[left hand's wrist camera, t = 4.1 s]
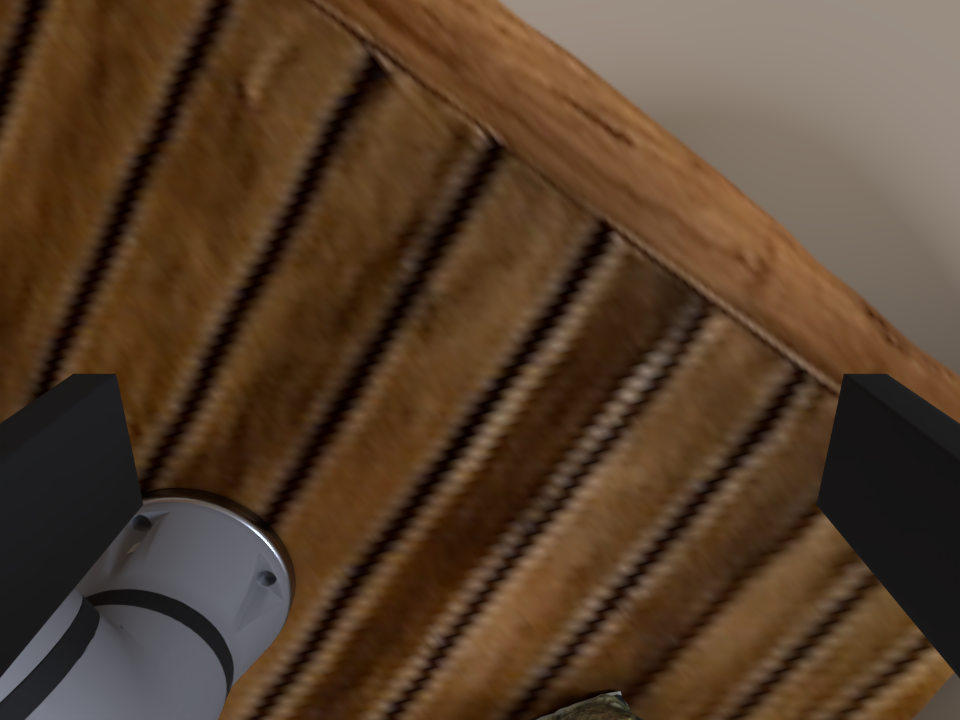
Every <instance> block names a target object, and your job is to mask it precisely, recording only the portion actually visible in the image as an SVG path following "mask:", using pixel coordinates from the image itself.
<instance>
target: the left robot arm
mask: <svg viewBox="0 0 960 720" xmlns="http://www.w3.org/2000/svg"><path fill="white" fill-rule="evenodd" d="M817 506H818V507H819V508H820V509H821V511H822V512H823V513H824V514H825V515H826V517H827V518H828V519H829V520H830V522H831V523H832V524H833V525H834V526H835V528H836V529H837V530H838V531H839V532H840V534H841V535H842V536H843V537H844V538H845V540H846V541H847V542H848V543H849V545H850V546H851V547H852V548H853V549H854V551H855V552H856V553H857V554H858V555H859V557H860V558H861V559H862V560H863V562H864V563H865V564H866V565H867V566H868V568H869V569H870V570H871V571H872V572H873V574H874V575H875V576H876V577H877V578H878V580H879V581H880V582H881V583H882V585H883V586H884V587H885V588H886V589H887V591H888V592H889V593H890V594H891V595H892V597H893V598H894V599H895V600H896V601H897V603H898V604H899V605H900V606H901V608H902V609H903V610H904V611H905V612H906V614H907V615H908V616H909V617H910V618H911V620H912V621H913V622H914V623H915V625H916V626H917V627H918V628H919V629H920V631H921V632H922V633H923V634H924V635H925V637H926V638H927V639H928V640H929V641H930V643H931V644H932V645H933V646H934V648H935V649H936V650H937V651H938V652H939V654H940V655H941V656H942V657H943V658H944V660H945V661H946V662H947V663H948V664H949V666H950V667H951V668H952V669H953V671H954V672H955V673H956V674H957V675H958V677H959V678H960V424H959V423H958V422H956V421H955V420H953V419H952V418H950V417H949V416H948V415H946V414H945V413H943V412H942V411H940V410H939V409H937V408H936V407H934V406H933V405H931V404H930V403H928V402H927V401H926V400H924V399H923V398H921V397H920V396H918V395H917V394H915V393H914V392H912V391H911V390H909V389H908V388H906V387H905V386H904V385H902V384H901V383H899V382H898V381H896V380H895V379H893V378H892V377H890V376H889V375H887V374H844V377H843V381H842V386H841V391H840V396H839V400H838V405H837V410H836V415H835V420H834V424H833V429H832V434H831V439H830V443H829V448H828V453H827V458H826V463H825V467H824V472H823V477H822V482H821V486H820V491H819V496H818V501H817ZM294 595H295V573H294V568H293V564H292V561H291V558H290V556H289V553H288V551H287V549H286V547H285V545H284V544H283V542H282V541H281V539H280V538H279V537H278V535H277V534H276V533H275V532H274V530H273V529H272V528H271V527H270V526H269V525H268V524H267V523H266V522H265V521H263V520H262V519H261V518H260V517H259V516H257V515H256V514H255V513H253V512H252V511H250V510H249V509H247V508H245V507H244V506H242V505H240V504H238V503H236V502H234V501H232V500H230V499H227V498H225V497H222V496H219V495H216V494H213V493H208V492H204V491H198V490H191V489H167V490H159V491H154V492H150V493H146V494H143V495H141V491H140V486H139V482H138V477H137V472H136V467H135V463H134V458H133V453H132V448H131V443H130V439H129V434H128V429H127V424H126V420H125V415H124V410H123V405H122V400H121V396H120V391H119V386H118V381H117V377H116V374H73V375H71V376H70V377H68V378H67V379H65V380H64V381H62V382H61V383H59V384H58V385H56V386H55V387H54V388H52V389H51V390H49V391H48V392H46V393H45V394H43V395H42V396H40V397H39V398H37V399H36V400H34V401H33V402H32V403H30V404H29V405H27V406H26V407H24V408H23V409H21V410H20V411H18V412H17V413H15V414H14V415H12V416H11V417H9V418H8V419H7V420H5V421H4V422H2V423H1V424H0V720H218V718H219V716H220V713H221V711H222V708H223V706H224V703H225V701H226V698H227V696H228V694H229V691H230V689H231V687H232V686H233V685H234V684H235V683H236V681H237V680H238V679H239V678H240V677H241V676H242V675H243V674H244V673H245V672H246V671H247V670H248V669H249V667H250V666H251V665H252V664H253V663H254V662H255V661H256V660H257V659H258V658H259V657H260V656H261V655H262V653H263V652H264V651H265V650H266V649H267V648H268V647H269V646H270V645H271V644H272V642H273V641H274V640H275V638H276V637H277V636H278V634H279V633H280V631H281V630H282V628H283V626H284V624H285V622H286V619H287V616H288V614H289V611H290V608H291V605H292V603H293V599H294Z"/></svg>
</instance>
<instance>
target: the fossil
mask: <svg viewBox="0 0 960 720" xmlns="http://www.w3.org/2000/svg"><path fill="white" fill-rule="evenodd" d="M536 720H643V719H641V718H639V717H637V716H636V715H634V714H632V713H631V711H630V707H629V706H628V704H627V703H626V702H625V701H624V700H623V698H622V695H621V692H613V693H606V694H601V695H599V696H597V697H594V698H591V699H588V700H584V701H581V702H578V703H575V704H573V705H570V706H568V707H565V708H562V709H559V710H558V711H556V712H555V713H553V714H550V715H546V716H543V717H540V718H538V719H536Z"/></svg>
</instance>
